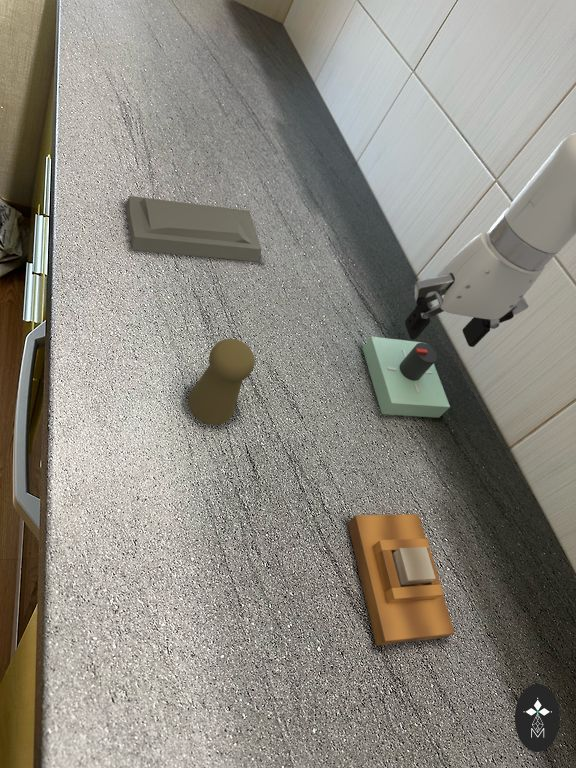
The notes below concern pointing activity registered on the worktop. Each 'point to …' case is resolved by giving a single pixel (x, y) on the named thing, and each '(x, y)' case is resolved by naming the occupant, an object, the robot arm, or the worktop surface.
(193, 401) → the brown pawn
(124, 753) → the worktop surface
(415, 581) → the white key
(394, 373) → the volume panel
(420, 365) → the volume knob
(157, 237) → the grey bevelled block
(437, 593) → the light switch
